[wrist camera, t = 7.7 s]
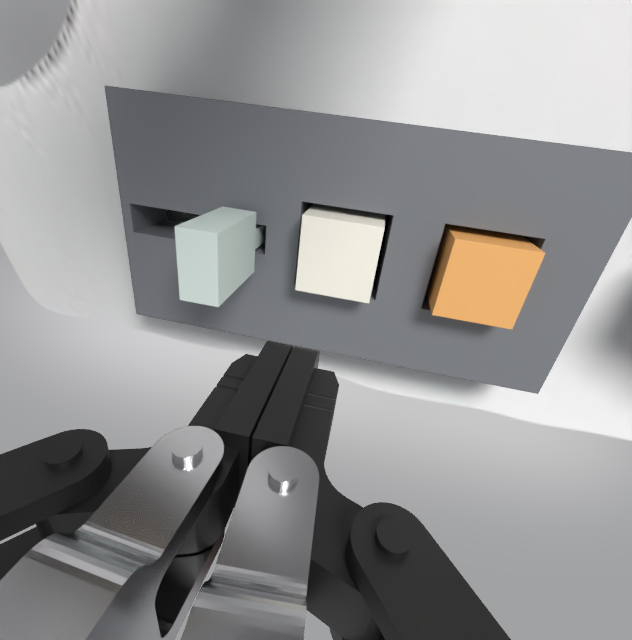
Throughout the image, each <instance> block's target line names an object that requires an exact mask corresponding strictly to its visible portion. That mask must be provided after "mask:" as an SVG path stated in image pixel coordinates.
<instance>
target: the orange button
mask: <svg viewBox="0 0 632 640" xmlns="http://www.w3.org/2000/svg"><path fill="white" fill-rule="evenodd" d="M544 256H545V252H543V251H542V250H541V249H539V248H538V247H536V246H535V245H534V244H532V243H531V242H530V241H528V240H527V239H525V238H524V237H523V236H521V235H516V234H510V233H504V232H497V231H491V230H484V229H478V228H471V227H465V226H458V225H452V224H445V227H444V230H443V234H442V237H441V241H440V244H439V248H438V251H437V255H436V258H435V262H434V265H433V269H432V272H431V276H430V279H429V282H428V286H427V289H426V293H427V297H428V301H429V305H430V309H431V313H432V315H435V316H441V317H446V318H452V319H457V320H463V321H468V322H474V323H479V324H485V325H490V326H496V327H501V328H507V329H513V327H514V324H515V322H516V320H517V317H518V315H519V313H520V311H521V308H522V306H523V304H524V301H525V299H526V297H527V294H528V292H529V290H530V288H531V285H532V283H533V281H534V278H535V276H536V274H537V272H538V269H539V267H540V265H541V262H542V260H543V258H544Z"/></svg>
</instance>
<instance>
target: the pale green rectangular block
mask: <svg viewBox="0 0 632 640" xmlns="http://www.w3.org/2000/svg"><path fill="white" fill-rule="evenodd" d="M174 228H175V241H176V255H177V269H178V282H179V296H180V300H183V301H189V302H194V303H199V304H204V305H210V306H215V307H219V306H220V305H221V304H222V303H223V302H224V301H225V300H226V299H227V298H228V297H229V296H230V295H231V294H232V293H233V292H234V291H235V290H236V289H237V288H238V287H239V286H240V285H241V284H242V283H243V282H244V281H246V280H247V279H248V278H249V277H250V276H251V275H252V274H253V273H254V265H255V249H256V248H258V247H259V246H260V245H261V244H262V243H264V242H265V241H266V226H264V225H258V224H256V212H254V211H248V210H242V209H235V208H229V207H220V208H218V209H215V210H213V211H210V212H208V213H205V214H203V215H201V216H198V217H196V218H193V219H191V220H188V221H186V222H183V223H181V224H179V225H176V226H174Z"/></svg>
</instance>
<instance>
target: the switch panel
mask: <svg viewBox="0 0 632 640" xmlns="http://www.w3.org/2000/svg"><path fill="white" fill-rule="evenodd" d="M105 92H106V99H107V106H108V113H109V120H110V127H111V135H112V142H113V149H114V156H115V163H116V170H117V177H118V185H119V192H120V199H121V206H122V213H123V220H124V228H125V235H126V242H127V249H128V256H129V263H130V270H131V278H132V285H133V292H134V299H135V306H136V313H137V314H139V315H144V316H149V317H154V318H159V319H164V320H169V321H174V322H179V323H184V324H189V325H194V326H199V327H204V328H209V329H214V330H219V331H224V332H229V333H234V334H239V335H244V336H250V337H255V338H260V339H265V340H270V341H275V342H280V343H285V344H290V345H295V346H300V347H305V348H310V349H315V350H320V351H325V352H330V353H335V354H340V355H345V356H350V357H355V358H360V359H365V360H370V361H375V362H380V363H385V364H391V365H396V366H401V367H406V368H411V369H416V370H421V371H426V372H431V373H436V374H441V375H446V376H451V377H456V378H461V379H466V380H471V381H476V382H481V383H486V384H491V385H496V386H501V387H506V388H511V389H516V390H521V391H526V392H531V393H537V394H538V393H539V391H540V389H541V387H542V385H543V383H544V381H545V380H546V378H547V376H548V374H549V372H550V370H551V368H552V366H553V365H554V363H555V361H556V359H557V357H558V355H559V353H560V351H561V349H562V348H563V346H564V344H565V342H566V340H567V338H568V336H569V334H570V332H571V331H572V329H573V327H574V325H575V323H576V321H577V319H578V317H579V315H580V314H581V312H582V310H583V308H584V306H585V304H586V302H587V300H588V298H589V297H590V295H591V293H592V291H593V289H594V287H595V285H596V283H597V281H598V280H599V278H600V276H601V274H602V272H603V270H604V268H605V266H606V264H607V263H608V261H609V259H610V257H611V255H612V253H613V251H614V249H615V247H616V246H617V244H618V242H619V240H620V238H621V236H622V234H623V232H624V230H625V229H626V227H627V225H628V223H629V221H630V219H631V217H632V153H631V152H623V151H615V150H607V149H599V148H592V147H584V146H576V145H568V144H560V143H552V142H544V141H536V140H529V139H521V138H513V137H505V136H497V135H489V134H481V133H473V132H466V131H458V130H450V129H442V128H434V127H426V126H418V125H410V124H403V123H395V122H387V121H379V120H371V119H363V118H355V117H347V116H340V115H332V114H324V113H316V112H308V111H300V110H292V109H284V108H277V107H269V106H261V105H253V104H245V103H237V102H229V101H221V100H214V99H206V98H198V97H190V96H182V95H174V94H166V93H158V92H151V91H143V90H135V89H127V88H119V87H111V86H105ZM313 203H316V204H322V205H329V206H335V207H342V208H348V209H355V210H361V211H368V212H374V213H381V214H387V215H390V220H389V225H388V229H387V234H386V239H385V244H384V248H383V253H382V258H381V262H380V267H379V272H378V277H377V278H374V282H373V287H372V292H371V296H370V301H369V303H364V302H358V301H353V300H347V299H342V298H336V297H330V296H325V295H319V294H314V293H308V292H303V291H297V290H295V287H296V276H297V266H298V256H299V245H300V235H301V224H302V215H303V214H304V213H305V212H306V211H307V210H308V209H309V208H310V207H312V206H313ZM220 207H229V208H235V209H242V210H248V211H254V212H256V224H258V225H264V226H266V241H265V242H264V243H262V244H261V245H260V246H259V247H258V248H256V249H255V265H254V273H253V274H252V275H251V276H250V277H249V278H248V279H247V280H246V281H244V282H243V283H242V284H241V285H240V286H239V287H238V288H237V289H236V290H235V291H234V292H233V293H232V294H231V295H230V296H229V297H228V298H227V299H226V300H225V301H224V302H223V303H222V304H221V305H220V306H219V307H215V306H210V305H204V304H199V303H194V302H189V301H183V300H180V296H179V282H178V269H177V255H176V241H175V228H174V226H176V225H179V224H181V223H183V222H178V221H172V220H167V210H173V211H179V212H185V213H191V214H197V215H203V214H205V213H208V212H210V211H213V210H215V209H218V208H220ZM445 224H452V225H458V226H465V227H471V228H478V229H484V230H491V231H497V232H504V233H510V234H516V235H521V236H523V237H524V238H525V239H527V240H528V241H530V242H531V243H532V244H534V245H535V246H536V247H538V248H539V249H541V250H542V251H543V252H545V256H544V258H543V260H542V262H541V265H540V267H539V269H538V272H537V274H536V276H535V278H534V281H533V283H532V285H531V288H530V290H529V292H528V294H527V297H526V299H525V301H524V304H523V306H522V308H521V311H520V313H519V315H518V317H517V320H516V322H515V324H514V327H513V329H507V328H501V327H496V326H490V325H485V324H479V323H474V322H468V321H463V320H457V319H452V318H446V317H441V316H435V315H432V313H431V309H430V305H429V301H428V297H427V293H426V289H427V286H428V282H429V279H430V276H431V272H432V269H433V265H434V262H435V258H436V255H437V251H438V248H439V244H440V241H441V237H442V234H443V230H444V227H445Z"/></svg>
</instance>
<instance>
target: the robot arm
mask: <svg viewBox="0 0 632 640" xmlns="http://www.w3.org/2000/svg"><path fill="white" fill-rule="evenodd" d="M318 361H319V351H317V350H312V349H307V348H302V347H297V346H294V347H293V346H292V345H287V344H282V343H277V342H272V341H267V342H266V344H265V346H264V347H263V349H262V351H261V352H260V354H259V356H253V355H248V354H246V355H244V356H242V357H241V358H240V359H238V360H236V361H234V362H233V363H232V364H231V365H230V367H229V368H228V369H227V371H226V372H225V374H224V376H223V377H222V378H221V380H220V381H219V382H218V384H217V387H215V388H214V389H213V391H212V392H211V394H210V395H209V397H208V398H207V399H206V401H205V402H204V404H203V405H202V407H201V408H200V409H199V411H198V412H197V414H196V415H195V417H194V418H193V420H192V421H191V422H190V424H189V425H188V426H186V427H181V428H178V429H175V430H173V431H171V432H169V433H167V434H165V435H164V436H163V437H161V438H160V439H159V440H158V441H157V442H156V443H155V444H154V445H153V447H150V448H141V449H121V450H108V446H107V442H106V439H105V438H104V437H103V436H102V435H101V434H100V433H98V432H96V431H92V430H86V429H76V430H69V431H65V432H61V433H59V434H56V435H53V436H50V437H47V438H44V439H42V440H39V441H36V442H33V443H31V444H28V445H25V446H22V447H20V448H17V449H14V450H11V451H9V452H6V453H4V454H0V541H1V540H3V539H5V538H7V537H9V536H11V535H13V534H16V533H17V532H19V531H22V530H24V529H26V528H28V527H30V526H32V525H34V524H36V526H37V527H35V528H33V529H31V530H29V531H27V532H25V533H23V534H21V535H19V536H17V537H15V538H13V539H10V540H8V541H6V542H4V543H2V544H0V640H175V638H176V636H177V634H178V632H179V630H180V627H181V625H182V623H183V621H184V619H185V617H186V615H187V613H188V611H189V609H190V607H191V605H192V603H193V601H194V599H195V597H196V595H197V593H198V591H199V593H198V595H197V597H196V599H195V602H194V604H193V607H192V609H191V612H190V615H189V617H188V621H187V623H186V626H185V629H184V632H183V635H182V637H181V640H303V639H304V629H305V619H306V609H307V610H308V611H309V612H310V613H312V614H313V615H314V616H316V617H317V618H318V619H320V620H321V621H322V622H323V623H325V624H326V625H327V626H329V627H330V632H331V635H332V638H333V640H511V639H510V638H509V637H508V636H507V634H506V633H505V632H504V630H503V629H502V628H501V626H500V625H499V624H498V622H497V621H496V620H495V618H494V617H493V616H492V615H491V613H490V612H489V611H488V609H487V608H486V607H485V605H484V604H483V603H482V601H481V600H480V599H479V597H478V596H477V595H476V594H475V592H474V591H473V590H472V588H471V587H470V586H469V584H468V583H467V582H466V580H465V579H464V578H463V577H462V575H461V574H460V573H459V571H458V570H457V569H456V567H455V566H454V565H453V563H452V562H451V561H450V560H449V558H448V557H447V556H446V554H445V553H444V552H443V550H442V549H441V548H440V547H439V545H438V544H437V543H436V541H435V540H434V539H433V537H432V536H431V535H430V533H429V532H428V531H427V530H426V528H425V527H424V525H423V524H422V523H421V522H420V521H419V520H418V519H417V518H416V517H415V516H414V515H413V514H412V513H410V512H409V511H407V510H406V509H404V508H402V507H400V506H397V505H395V504H391V503H381V502H380V503H373V504H371V505H368V506H366V507H364V508H363V507H361V506H360V505H358V504H356V503H355V502H353V501H351V500H350V499H348V498H346V497H345V496H343V495H342V494H341V493H340V492H338V491H337V490H336V489H335V488H334V486H333V485H332V484H331V482H330V481H329V479H328V477H327V475H326V472H325V469H324V460H325V455H326V450H327V445H328V440H329V435H330V430H331V425H332V420H333V414H334V408H335V404H336V398H337V393H338V387H339V384H338V381H337V379H336V376H335V374H334V372H332V371H327V370H322V369H317V368H318ZM233 508H235V509H234V511H233ZM232 511H233V514H232V517H231V521H230V523H229V527H228V529H227V533H226V535H225V539H224V542H223V538H224V533H225V527H226V525H227V522H228V520H229V518H230V515H231V513H232ZM222 542H223V545H222V547H221V551H220V553H219V556H218V559H217V562H216V565H215V568H214V571H213V573H212V576H211V578H210V579H209V580H208V581H206V582H205V583H204V584H203V585H202V583H203V581H204V579H205V577H206V575H207V573H208V571H209V569H210V567H211V565H212V563H213V561H214V559H215V556H216V555H217V553H218V550H219V548H220V546H221V544H222ZM201 585H202V587H201ZM200 587H201V589H200ZM199 589H200V590H199Z"/></svg>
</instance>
